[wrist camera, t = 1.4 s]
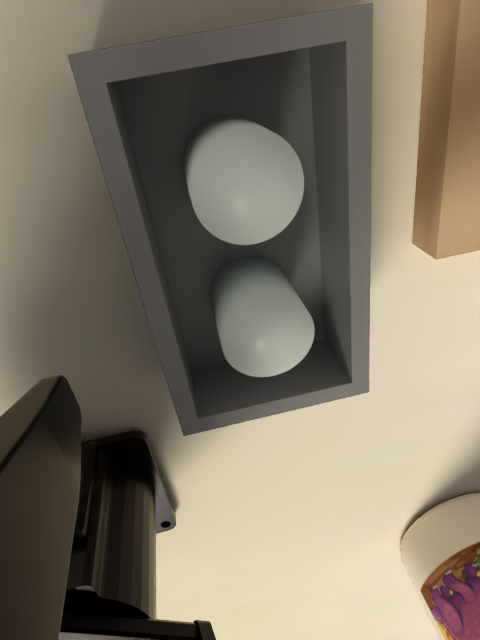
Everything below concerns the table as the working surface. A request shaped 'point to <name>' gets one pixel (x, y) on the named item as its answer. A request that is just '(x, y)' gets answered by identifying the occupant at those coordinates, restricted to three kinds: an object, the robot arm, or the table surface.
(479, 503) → the milk bottle
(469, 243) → the wooden l-shaped stand
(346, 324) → the tray
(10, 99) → the table surface
